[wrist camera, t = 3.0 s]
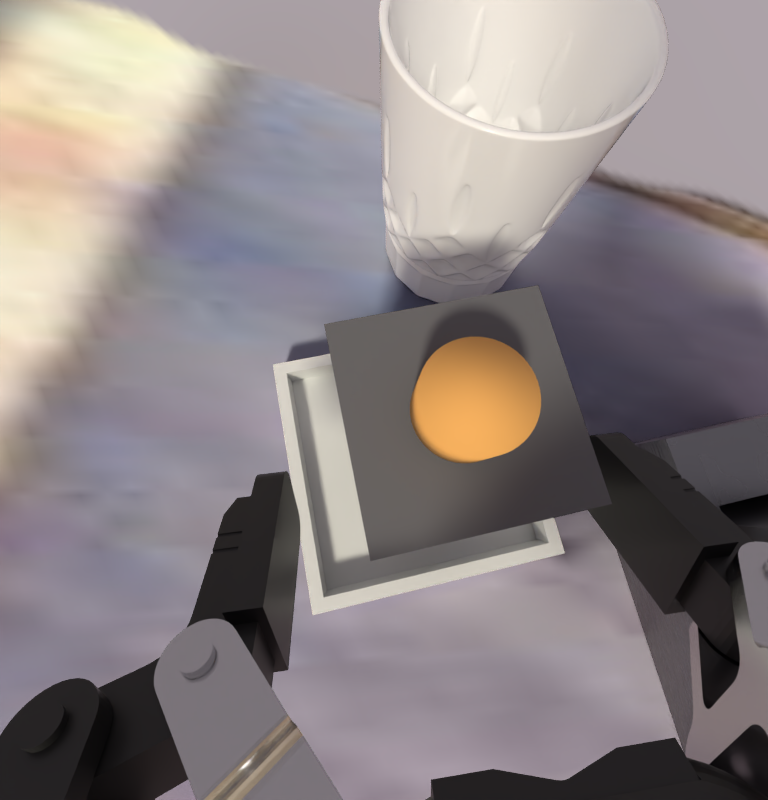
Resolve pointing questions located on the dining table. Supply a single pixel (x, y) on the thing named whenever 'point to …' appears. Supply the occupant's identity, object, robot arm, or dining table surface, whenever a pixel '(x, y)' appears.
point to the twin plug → (750, 516)
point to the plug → (460, 421)
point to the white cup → (500, 124)
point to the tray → (341, 516)
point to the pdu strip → (721, 484)
